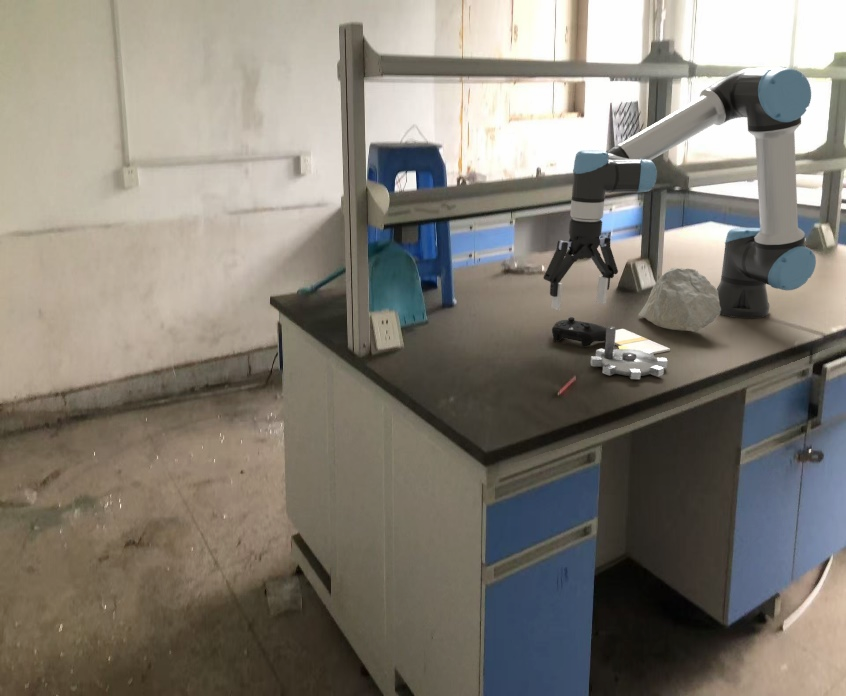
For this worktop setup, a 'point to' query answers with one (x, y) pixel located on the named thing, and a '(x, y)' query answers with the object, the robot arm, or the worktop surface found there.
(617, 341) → the marked pad
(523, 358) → the worktop surface
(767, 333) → the worktop surface
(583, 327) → the gaming controller
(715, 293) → the grey rock
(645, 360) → the sprocket
